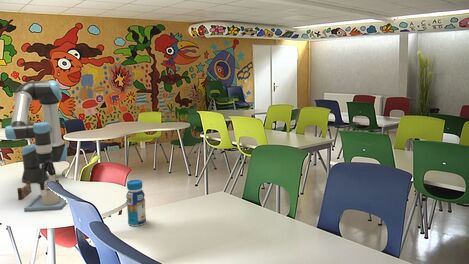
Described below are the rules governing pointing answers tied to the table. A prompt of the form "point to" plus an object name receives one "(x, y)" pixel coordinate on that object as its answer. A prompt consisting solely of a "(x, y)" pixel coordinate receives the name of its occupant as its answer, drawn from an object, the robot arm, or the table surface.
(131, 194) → the beverage bottle
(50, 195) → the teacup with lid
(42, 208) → the tray
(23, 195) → the walnut rack
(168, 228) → the table surface
